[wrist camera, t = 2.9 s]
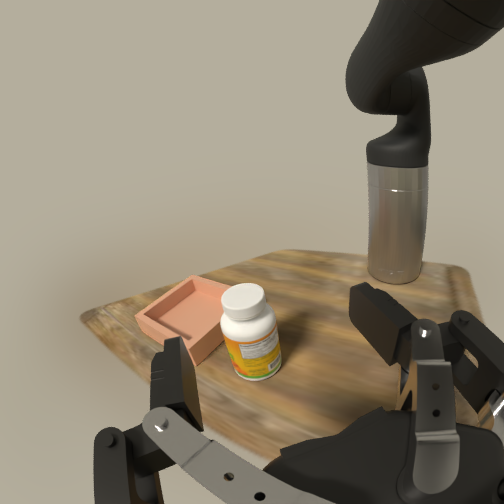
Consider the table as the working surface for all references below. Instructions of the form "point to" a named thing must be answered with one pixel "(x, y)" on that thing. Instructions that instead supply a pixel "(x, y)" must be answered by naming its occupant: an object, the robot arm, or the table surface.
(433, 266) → the table surface
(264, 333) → the supplement bottle
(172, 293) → the tray
